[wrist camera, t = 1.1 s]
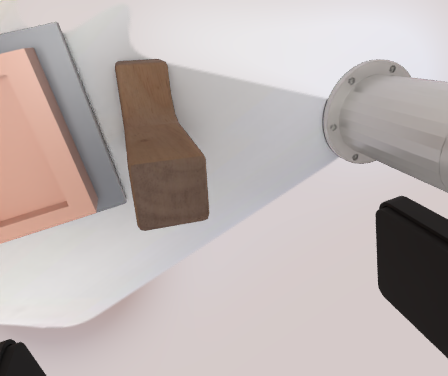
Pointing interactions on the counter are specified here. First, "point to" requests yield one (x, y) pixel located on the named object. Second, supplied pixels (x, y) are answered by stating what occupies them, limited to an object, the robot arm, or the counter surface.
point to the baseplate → (72, 106)
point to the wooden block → (159, 149)
